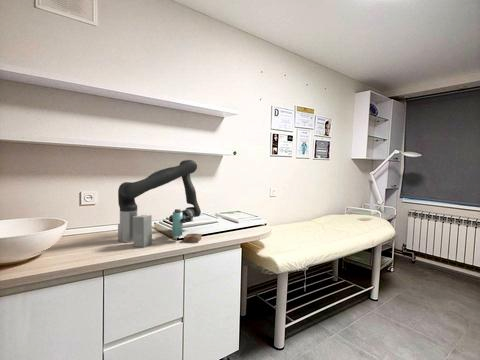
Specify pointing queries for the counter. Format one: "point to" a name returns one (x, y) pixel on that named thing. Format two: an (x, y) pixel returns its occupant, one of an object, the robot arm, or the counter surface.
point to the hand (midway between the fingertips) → (176, 220)
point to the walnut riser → (192, 238)
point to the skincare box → (142, 230)
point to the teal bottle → (177, 223)
